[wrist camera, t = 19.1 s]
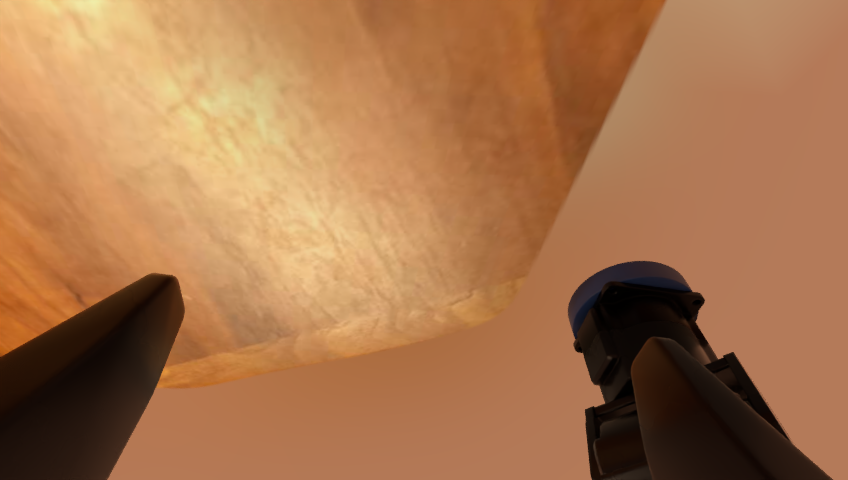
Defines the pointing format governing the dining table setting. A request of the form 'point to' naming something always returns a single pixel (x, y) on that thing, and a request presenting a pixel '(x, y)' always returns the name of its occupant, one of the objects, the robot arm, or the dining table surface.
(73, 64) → the dining table surface
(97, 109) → the dining table surface
